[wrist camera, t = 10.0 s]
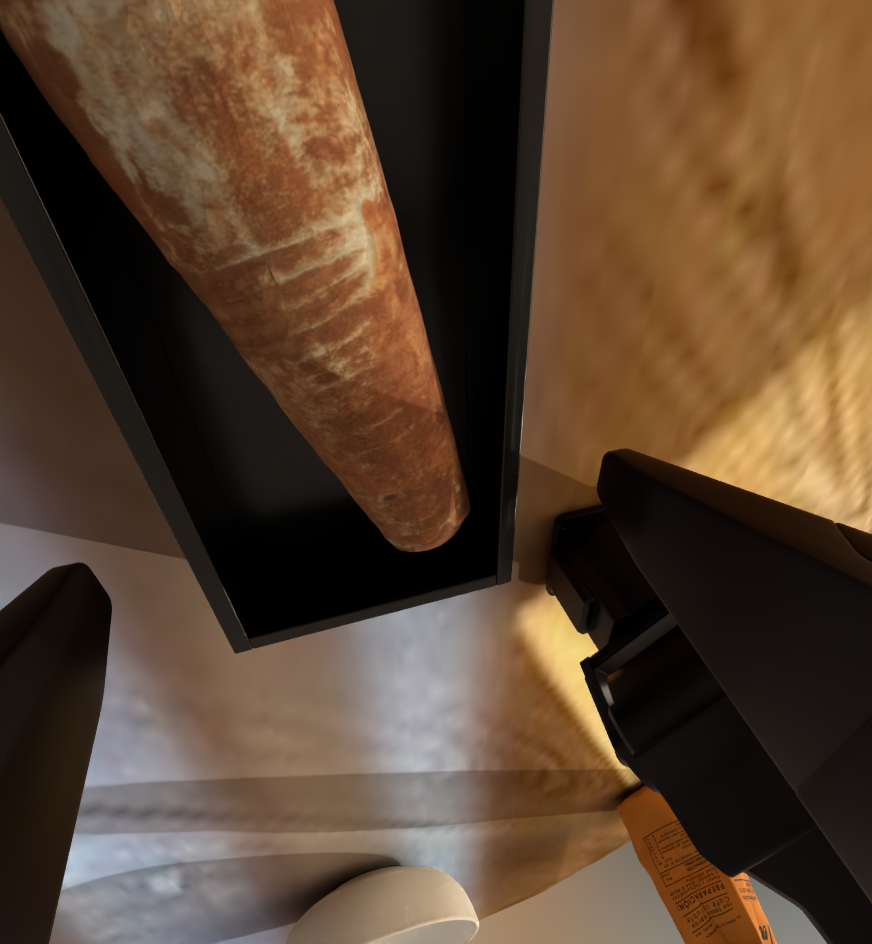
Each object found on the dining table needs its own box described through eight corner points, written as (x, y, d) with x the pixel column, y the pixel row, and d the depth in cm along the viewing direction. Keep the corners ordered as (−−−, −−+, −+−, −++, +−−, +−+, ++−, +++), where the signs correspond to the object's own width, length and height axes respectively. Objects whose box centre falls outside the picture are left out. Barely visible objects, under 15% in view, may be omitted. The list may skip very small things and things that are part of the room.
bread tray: (482, -236, 11) (586, -416, 7) (476, 517, 25) (511, 582, 21) (-130, -300, 9) (-415, -608, 5) (240, 571, 23) (234, 654, 19)
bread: (276, -116, 11) (283, -284, 6) (471, 483, 23) (520, 567, 18) (10, -20, 10) (-174, -128, 6) (349, 536, 22) (369, 633, 18)
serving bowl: (487, 853, 58) (509, 926, 53) (347, 929, 60) (355, 1007, 55) (400, 824, 45) (418, 917, 40) (226, 922, 47) (221, 1023, 42)
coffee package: (634, 814, 67) (759, 1049, 50) (603, 801, 60) (738, 1073, 42) (695, 779, 65) (846, 1009, 48) (671, 761, 58) (840, 1027, 41)
